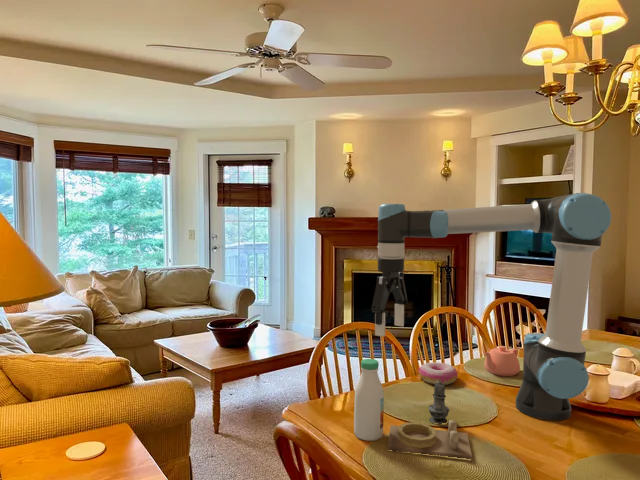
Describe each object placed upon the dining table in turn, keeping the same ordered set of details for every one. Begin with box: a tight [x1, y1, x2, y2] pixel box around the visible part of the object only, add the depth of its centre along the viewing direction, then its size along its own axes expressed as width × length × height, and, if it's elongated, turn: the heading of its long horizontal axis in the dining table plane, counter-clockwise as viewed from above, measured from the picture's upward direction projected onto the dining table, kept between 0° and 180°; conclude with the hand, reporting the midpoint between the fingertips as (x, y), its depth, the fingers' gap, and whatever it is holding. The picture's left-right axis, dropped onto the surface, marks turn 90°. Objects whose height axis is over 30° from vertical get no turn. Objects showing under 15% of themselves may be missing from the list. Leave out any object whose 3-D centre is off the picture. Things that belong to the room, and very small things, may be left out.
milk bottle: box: [353, 358, 385, 442], centre depth 125 cm, size 8×8×20 cm
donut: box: [418, 361, 458, 386], centre depth 167 cm, size 14×13×5 cm
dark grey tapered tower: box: [427, 380, 450, 424], centre depth 134 cm, size 6×6×12 cm
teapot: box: [483, 345, 521, 377], centre depth 176 cm, size 12×18×10 cm
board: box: [387, 419, 473, 460], centre depth 121 cm, size 20×12×5 cm, turn 78°
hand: (389, 330), depth 137 cm, fingers open, 13 cm apart
